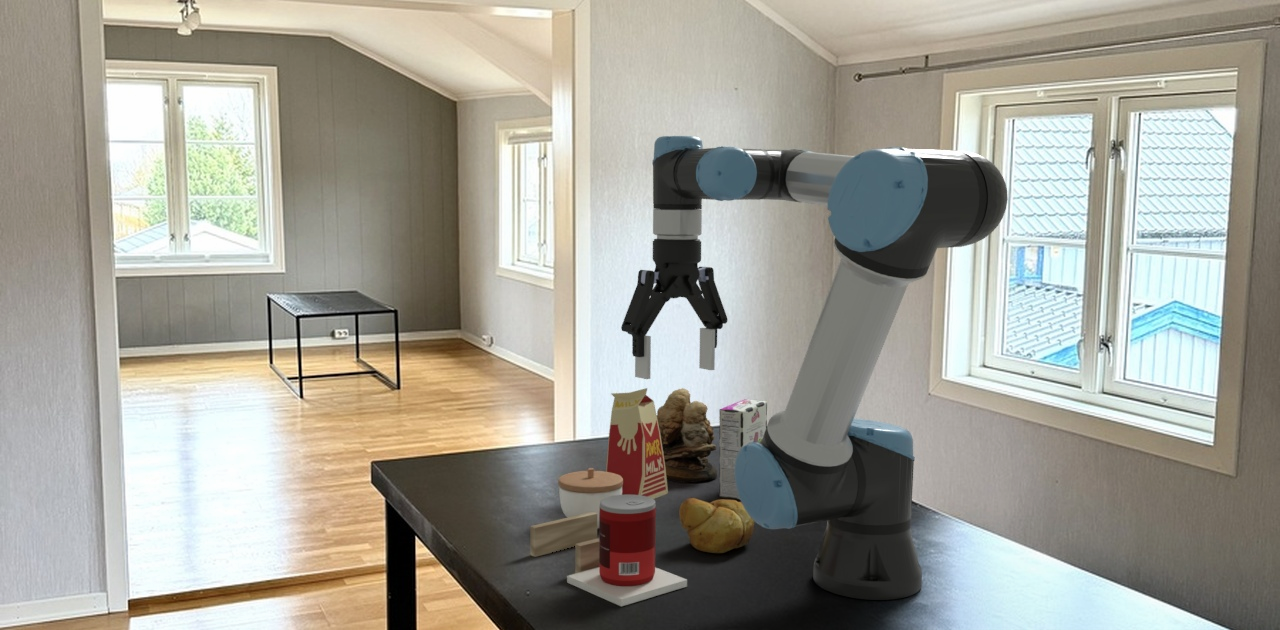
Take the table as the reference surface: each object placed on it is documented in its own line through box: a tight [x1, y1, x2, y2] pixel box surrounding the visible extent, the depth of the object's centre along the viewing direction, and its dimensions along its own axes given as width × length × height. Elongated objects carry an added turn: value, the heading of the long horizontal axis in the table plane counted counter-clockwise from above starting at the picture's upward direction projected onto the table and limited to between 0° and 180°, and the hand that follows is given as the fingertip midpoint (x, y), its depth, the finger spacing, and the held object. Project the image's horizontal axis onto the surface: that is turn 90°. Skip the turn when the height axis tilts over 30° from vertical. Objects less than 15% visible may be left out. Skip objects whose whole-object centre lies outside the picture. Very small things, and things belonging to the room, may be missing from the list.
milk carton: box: [605, 387, 669, 500], centre depth 205 cm, size 9×9×20 cm
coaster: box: [566, 566, 688, 607], centre depth 160 cm, size 12×12×1 cm
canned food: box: [598, 494, 657, 586], centre depth 159 cm, size 8×8×11 cm
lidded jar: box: [557, 467, 623, 530], centre depth 188 cm, size 11×11×9 cm
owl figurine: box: [656, 387, 718, 484], centre depth 222 cm, size 18×12×17 cm, turn 33°
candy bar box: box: [719, 398, 768, 501], centre depth 208 cm, size 11×5×16 cm, turn 150°
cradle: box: [529, 512, 599, 574], centre depth 171 cm, size 12×12×4 cm
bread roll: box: [678, 497, 755, 554], centre depth 178 cm, size 13×10×8 cm
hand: (675, 373), depth 177 cm, fingers open, 13 cm apart
